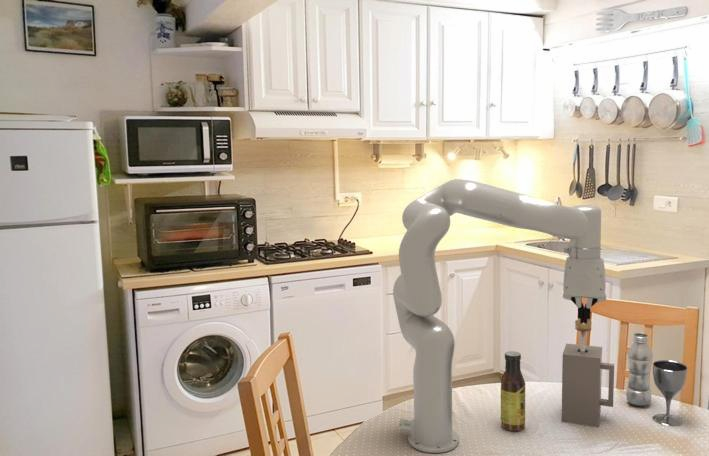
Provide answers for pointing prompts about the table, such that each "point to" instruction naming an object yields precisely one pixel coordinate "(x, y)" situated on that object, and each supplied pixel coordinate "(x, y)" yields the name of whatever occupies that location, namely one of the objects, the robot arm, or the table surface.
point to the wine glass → (669, 387)
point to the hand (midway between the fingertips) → (583, 321)
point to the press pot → (584, 385)
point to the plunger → (582, 332)
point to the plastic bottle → (639, 371)
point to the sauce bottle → (512, 394)
